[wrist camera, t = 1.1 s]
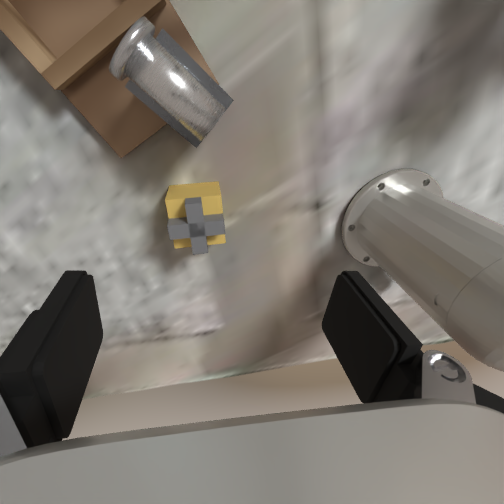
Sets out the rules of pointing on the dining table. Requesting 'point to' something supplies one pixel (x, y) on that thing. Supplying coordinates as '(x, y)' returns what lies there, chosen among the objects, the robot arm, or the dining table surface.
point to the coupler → (195, 216)
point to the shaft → (169, 81)
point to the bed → (93, 57)
